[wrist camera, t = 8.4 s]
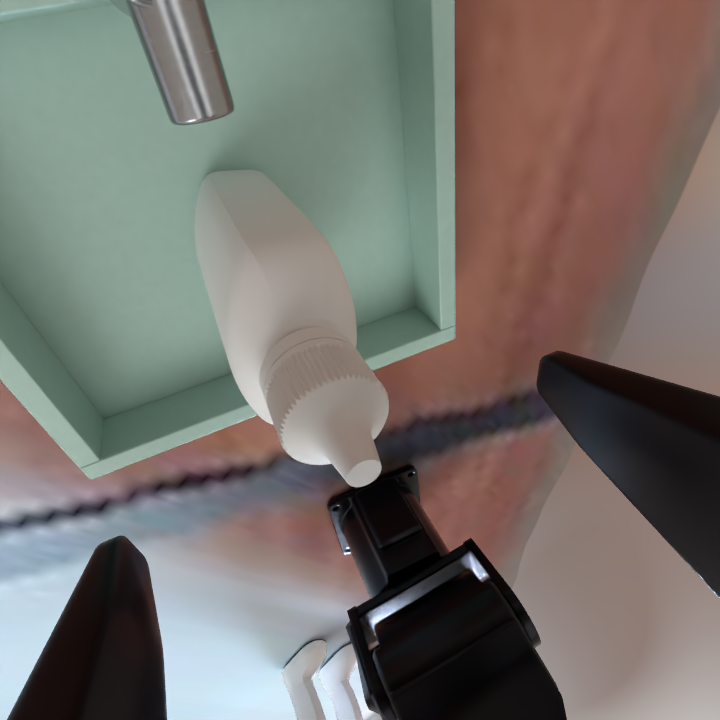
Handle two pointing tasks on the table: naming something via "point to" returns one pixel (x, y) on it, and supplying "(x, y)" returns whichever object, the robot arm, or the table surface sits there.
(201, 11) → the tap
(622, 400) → the robot arm
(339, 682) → the toy character
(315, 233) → the eye dropper bottle
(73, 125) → the green tray
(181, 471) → the table surface
